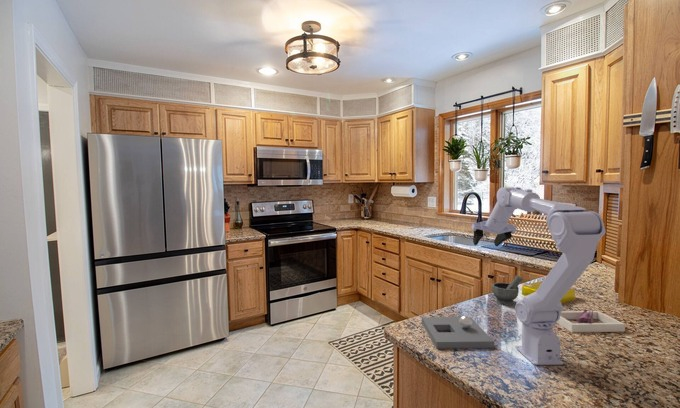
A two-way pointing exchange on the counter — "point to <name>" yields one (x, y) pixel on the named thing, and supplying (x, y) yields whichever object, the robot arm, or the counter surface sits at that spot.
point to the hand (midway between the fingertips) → (485, 243)
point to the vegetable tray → (607, 326)
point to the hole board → (455, 333)
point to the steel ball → (465, 322)
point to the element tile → (533, 287)
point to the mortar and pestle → (506, 291)
